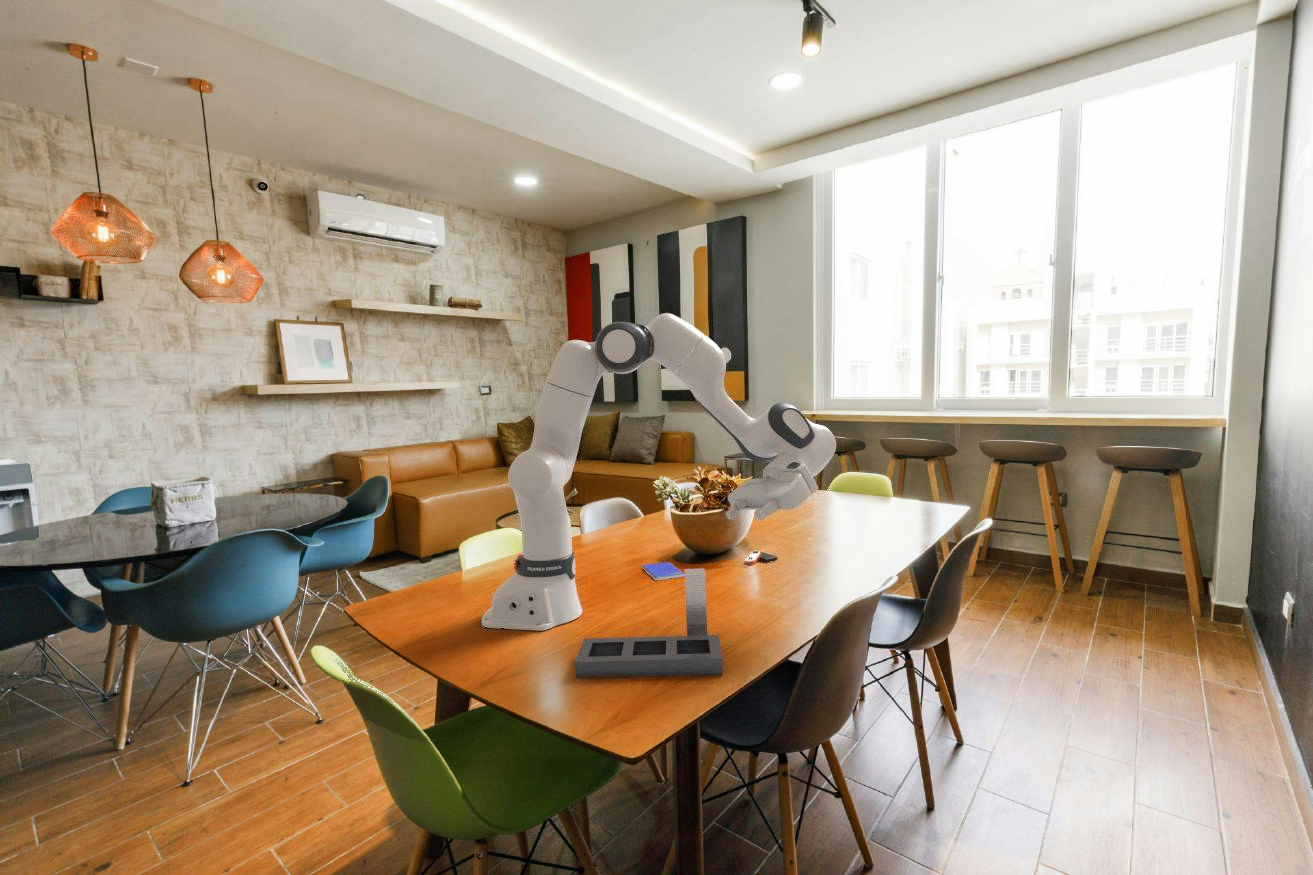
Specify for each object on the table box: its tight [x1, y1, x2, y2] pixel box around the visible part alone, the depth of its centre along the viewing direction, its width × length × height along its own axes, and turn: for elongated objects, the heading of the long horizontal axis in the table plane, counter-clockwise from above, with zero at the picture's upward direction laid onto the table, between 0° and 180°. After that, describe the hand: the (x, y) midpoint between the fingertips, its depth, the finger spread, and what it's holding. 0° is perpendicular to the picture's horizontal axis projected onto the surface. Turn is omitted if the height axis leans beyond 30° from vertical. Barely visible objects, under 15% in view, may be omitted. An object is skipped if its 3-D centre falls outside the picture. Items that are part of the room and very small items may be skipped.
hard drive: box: [641, 561, 685, 581], centre depth 165 cm, size 2×8×12 cm
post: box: [683, 568, 708, 636], centre depth 118 cm, size 4×4×14 cm
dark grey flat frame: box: [574, 634, 724, 679], centre depth 109 cm, size 26×10×3 cm, turn 88°
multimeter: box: [719, 550, 779, 568], centre depth 169 cm, size 18×12×3 cm, turn 117°
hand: (742, 517), depth 121 cm, fingers open, 8 cm apart
